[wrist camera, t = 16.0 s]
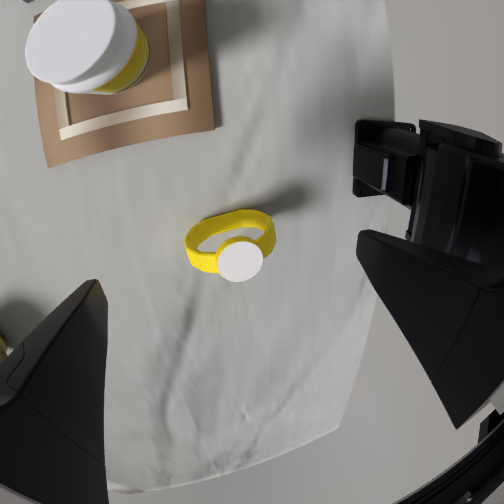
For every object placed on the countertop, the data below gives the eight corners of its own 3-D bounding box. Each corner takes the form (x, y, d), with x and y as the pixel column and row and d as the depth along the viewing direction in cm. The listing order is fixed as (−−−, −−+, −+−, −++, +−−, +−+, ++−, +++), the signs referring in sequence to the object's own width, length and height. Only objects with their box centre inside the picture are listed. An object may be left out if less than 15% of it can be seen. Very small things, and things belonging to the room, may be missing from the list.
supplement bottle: (155, 25, 13) (138, -26, 6) (148, 92, 15) (121, 84, 8) (84, 33, 11) (27, -1, 4) (78, 98, 14) (12, 104, 7)
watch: (255, 194, 21) (288, 225, 16) (261, 226, 23) (293, 264, 18) (178, 218, 20) (186, 258, 15) (188, 250, 22) (200, 296, 17)
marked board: (202, -26, 12) (202, -30, 11) (213, 129, 18) (215, 130, 17) (37, 17, 10) (32, 15, 9) (51, 166, 16) (46, 168, 15)
